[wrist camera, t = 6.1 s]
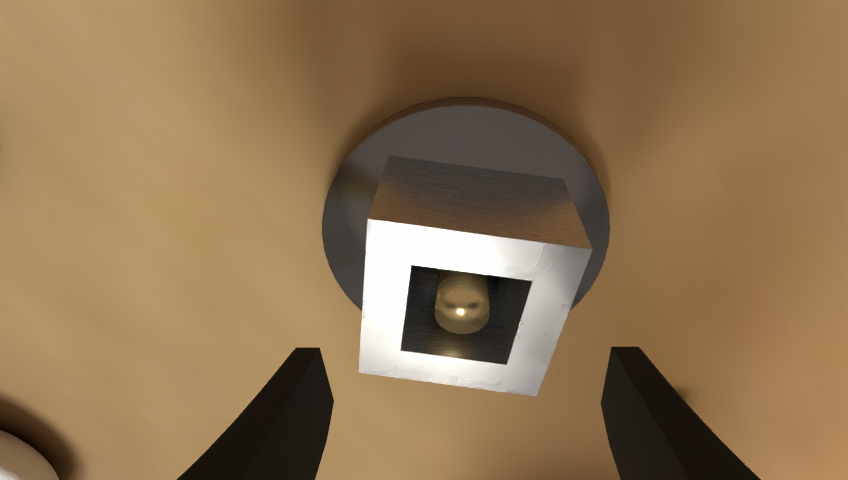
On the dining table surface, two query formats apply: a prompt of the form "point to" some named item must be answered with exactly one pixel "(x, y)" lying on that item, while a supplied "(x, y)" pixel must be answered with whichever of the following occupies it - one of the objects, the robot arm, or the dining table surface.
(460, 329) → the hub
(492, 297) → the collar
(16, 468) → the spoon rest
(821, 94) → the dining table surface
